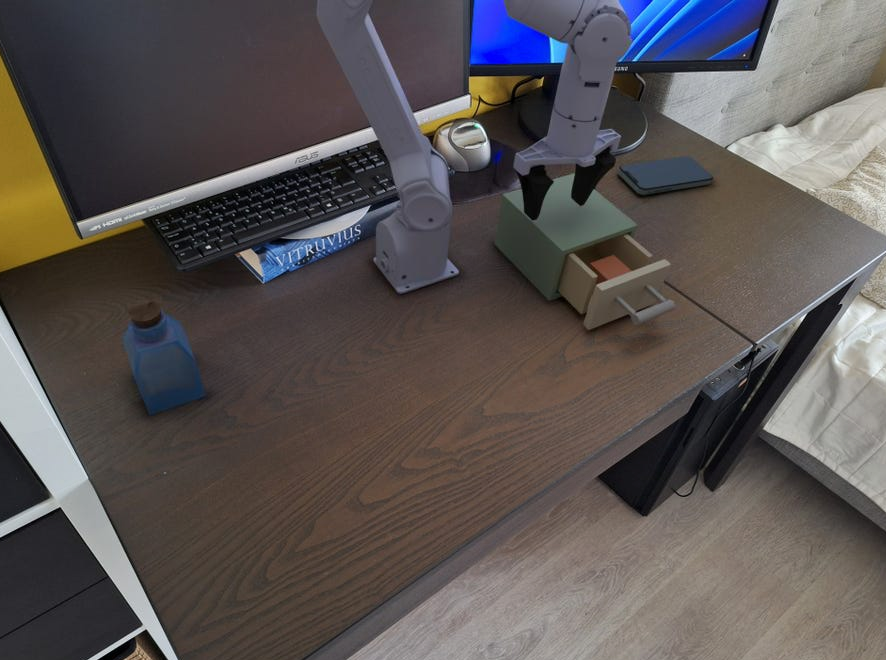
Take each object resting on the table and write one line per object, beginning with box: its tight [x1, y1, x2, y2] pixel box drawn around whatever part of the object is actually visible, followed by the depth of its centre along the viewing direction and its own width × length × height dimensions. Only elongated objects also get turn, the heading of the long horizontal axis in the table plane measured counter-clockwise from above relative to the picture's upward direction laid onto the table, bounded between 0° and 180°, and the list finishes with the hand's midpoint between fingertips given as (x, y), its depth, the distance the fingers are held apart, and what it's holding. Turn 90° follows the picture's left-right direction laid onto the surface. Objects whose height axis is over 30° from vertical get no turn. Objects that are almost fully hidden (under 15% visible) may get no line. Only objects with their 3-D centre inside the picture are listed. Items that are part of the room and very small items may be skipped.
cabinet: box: [494, 172, 638, 302], centre depth 93 cm, size 14×13×9 cm
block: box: [589, 255, 632, 295], centre depth 88 cm, size 4×4×4 cm
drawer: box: [557, 233, 676, 331], centre depth 87 cm, size 17×11×7 cm, turn 30°
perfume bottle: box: [121, 298, 207, 416], centre depth 72 cm, size 6×6×12 cm
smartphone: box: [617, 155, 714, 196], centre depth 112 cm, size 8×2×15 cm
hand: (554, 208), depth 87 cm, fingers open, 7 cm apart
